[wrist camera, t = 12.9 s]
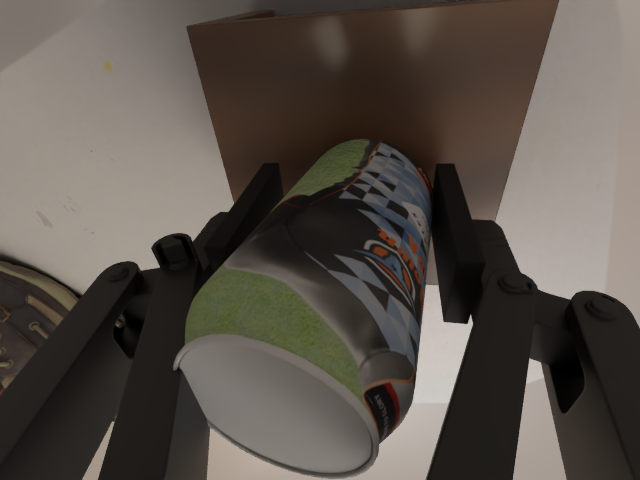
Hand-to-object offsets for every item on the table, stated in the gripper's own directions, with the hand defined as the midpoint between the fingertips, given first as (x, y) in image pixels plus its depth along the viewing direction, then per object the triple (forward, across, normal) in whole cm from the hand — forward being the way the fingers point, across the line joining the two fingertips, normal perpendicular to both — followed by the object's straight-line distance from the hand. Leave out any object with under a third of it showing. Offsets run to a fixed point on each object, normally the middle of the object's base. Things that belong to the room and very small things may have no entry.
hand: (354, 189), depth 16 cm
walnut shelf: (+9, 0, 0) cm, 9 cm away
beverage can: (+1, 0, 0) cm, 1 cm away
